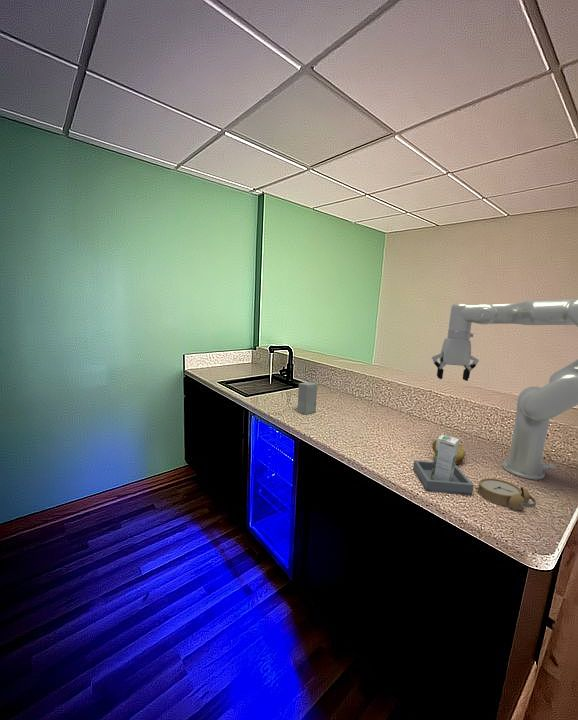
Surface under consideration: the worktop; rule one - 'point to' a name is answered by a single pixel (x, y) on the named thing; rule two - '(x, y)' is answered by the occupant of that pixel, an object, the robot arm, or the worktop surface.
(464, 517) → the worktop surface
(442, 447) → the syrup box
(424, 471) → the tray
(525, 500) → the alarm clock
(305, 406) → the skincare box
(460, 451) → the bread roll
